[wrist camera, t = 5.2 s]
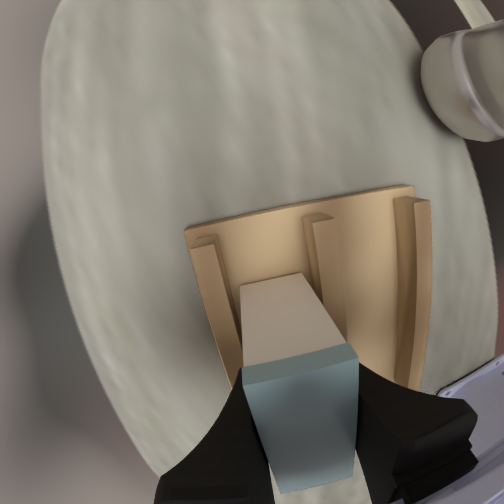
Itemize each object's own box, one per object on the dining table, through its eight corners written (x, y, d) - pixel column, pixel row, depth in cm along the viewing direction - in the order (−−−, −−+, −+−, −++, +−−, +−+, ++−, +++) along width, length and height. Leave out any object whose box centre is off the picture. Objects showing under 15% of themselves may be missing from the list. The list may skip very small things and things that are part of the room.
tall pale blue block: (302, 271, 14) (358, 357, 7) (316, 380, 16) (352, 476, 9) (238, 285, 14) (242, 385, 7) (265, 392, 16) (280, 493, 9)
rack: (404, 184, 14) (435, 188, 11) (404, 368, 18) (423, 393, 15) (187, 227, 14) (174, 240, 11) (243, 413, 18) (244, 445, 15)
